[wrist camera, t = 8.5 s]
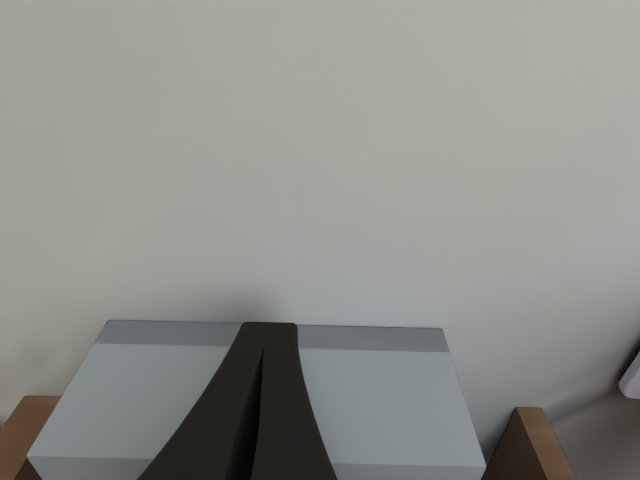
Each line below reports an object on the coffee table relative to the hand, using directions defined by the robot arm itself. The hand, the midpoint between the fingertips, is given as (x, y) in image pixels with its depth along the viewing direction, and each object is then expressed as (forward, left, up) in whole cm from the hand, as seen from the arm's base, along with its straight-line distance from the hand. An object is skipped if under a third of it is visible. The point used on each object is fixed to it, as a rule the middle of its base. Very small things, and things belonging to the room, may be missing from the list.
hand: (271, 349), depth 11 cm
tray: (0, +11, -2) cm, 11 cm away
